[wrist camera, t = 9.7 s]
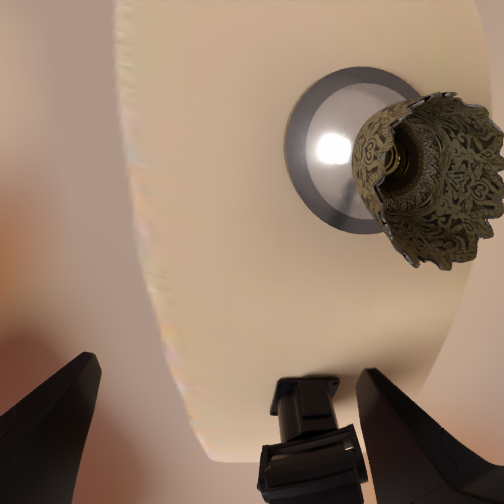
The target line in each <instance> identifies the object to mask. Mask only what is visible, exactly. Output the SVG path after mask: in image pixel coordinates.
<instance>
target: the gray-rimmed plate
mask: <svg viewBox="0 0 504 504" xmlns="http://www.w3.org/2000/svg"><path fill="white" fill-rule="evenodd" d="M417 97H421V96H420V95H419V94H418V93H417V92H416V91H415V90H414V89H413V88H412V87H411V86H410V85H409V84H408V83H406V82H405V81H404V80H402V79H401V78H399V77H397V76H395V75H394V74H391V73H389V72H386V71H384V70H380V69H376V68H371V67H350V68H346V69H341V70H338V71H336V72H333V73H331V74H329V75H326V76H325V77H323V78H321V79H319V80H318V81H316V82H315V83H314V84H312V85H311V86H310V87H309V88H307V90H306V91H305V92H304V93H303V94H302V95H301V96H300V98H299V99H298V101H297V102H296V104H295V105H294V107H293V109H292V111H291V113H290V115H289V119H288V122H287V125H286V130H285V136H284V156H285V163H286V167H287V171H288V174H289V177H290V179H291V182H292V184H293V186H294V188H295V190H296V191H297V193H298V194H299V196H300V197H301V198H302V200H303V201H304V203H305V204H306V205H307V207H308V208H309V209H310V210H311V211H312V212H313V213H314V214H315V215H316V216H317V217H319V218H320V219H321V220H322V221H324V222H326V223H327V224H329V225H330V226H332V227H335V228H337V229H339V230H342V231H345V232H348V233H354V234H375V233H380V232H384V231H383V230H382V228H381V227H380V226H379V224H378V223H377V222H376V220H375V219H374V218H373V216H372V215H371V214H370V212H369V211H368V209H367V208H366V206H365V205H364V203H363V201H362V200H361V198H360V196H359V194H358V192H357V189H356V186H355V183H354V180H353V176H352V169H351V156H352V149H353V145H354V142H355V139H356V137H357V134H358V133H359V131H360V129H361V127H362V126H363V125H364V123H365V122H366V121H367V120H368V119H369V118H370V117H371V116H372V115H374V114H375V113H376V112H378V111H379V110H381V109H383V108H385V107H387V106H389V105H392V104H395V103H398V102H401V101H405V100H409V99H413V98H417ZM389 160H390V150H389V151H387V153H386V156H385V163H384V166H386V165H387V164H388V162H389Z"/></svg>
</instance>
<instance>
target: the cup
mask: <svg viewBox="0 0 504 504" xmlns="http://www.w3.org/2000/svg"><path fill="white" fill-rule="evenodd" d="M455 95H457V93H455V92H445V93H440V92H438V93H433V94H431V95H427V96H422V97H417V98H413V99H409V100H405V101H401V102H398V103H395V104H392V105H389V106H387V107H385V108H383V109H381V110H379V111H378V112H376V113H375V114H374V115H372V116H371V117H370V118H369V119H368V120H367V121H366V122H365V123H364V125H363V126H362V127H361V129H360V131H359V133H358V134H357V137H356V139H355V142H354V145H353V149H352V156H351V169H352V176H353V180H354V183H355V186H356V189H357V192H358V194H359V196H360V198H361V200H362V201H363V203H364V205H365V206H366V208H367V209H368V211H369V212H370V214H371V215H372V216H373V218H374V219H375V220H376V222H377V223H378V224H379V226H380V227H381V228H382V230H383V231H384V233H385V234H386V235H387V237H388V238H389V239H390V241H391V243H392V245H393V246H394V248H395V249H396V250H397V251H398V252H399V253H401V254H402V255H403V256H404V258H405V259H406V260H407V261H408V262H409V263H410V264H411V265H412V266H413V267H415V268H418V267H419V265H420V262H419V260H420V261H422V262H423V263H426V262H427V261H431V262H433V263H434V264H436V265H437V266H438V268H439V269H440V270H447V271H450V270H451V268H452V262H457V263H464V262H468V261H471V260H474V259H475V258H476V255H477V247H478V246H477V243H478V240H479V238H478V237H480V238H481V237H482V238H484V239H489V238H491V237H493V235H494V233H493V229H492V227H491V225H490V224H489V222H488V221H487V220H488V219H495V218H499V217H501V216H502V215H503V213H504V204H503V202H502V200H501V199H503V198H504V183H503V179H502V177H501V176H500V175H498V173H497V172H499V171H502V170H504V158H503V157H502V156H500V150H501V148H502V146H503V138H504V133H503V131H502V130H501V129H500V128H499V127H498V126H497V125H496V124H495V123H493V122H492V120H491V119H489V112H488V110H487V109H486V108H485V107H483V106H481V105H471V104H466V103H464V102H462V100H461V99H460V98H456V97H452V96H455ZM389 150H390V160H389V162H388V164H387V165H386V166H384V163H385V156H386V153H387V151H389ZM485 218H486V221H487V222H486V221H485ZM487 223H488V224H487Z"/></svg>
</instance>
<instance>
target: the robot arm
mask: <svg viewBox="0 0 504 504" xmlns="http://www.w3.org/2000/svg"><path fill="white" fill-rule="evenodd" d="M101 373H102V372H101V367H100V365H99V362H98V360H97V357H96V355H95V354H93V353H90V352H83V353H81V354H80V355H78V356H77V357H76V358H74V359H73V360H72V361H70V362H69V363H68V364H66V365H65V366H64V367H63V368H61V369H60V370H59V371H57V372H56V373H55V374H53V375H52V376H51V377H50V378H48V379H47V380H46V381H44V382H43V383H42V384H41V385H39V386H38V387H37V388H36V389H34V390H33V391H32V392H30V393H29V394H28V395H27V396H25V397H24V398H23V399H22V400H20V401H19V402H18V403H16V405H14V406H13V407H11V408H10V409H9V410H8V411H6V412H5V413H4V414H2V415H1V416H0V504H71V503H72V498H73V493H74V488H75V483H76V478H77V474H78V470H79V465H80V461H81V457H82V453H83V449H84V446H85V442H86V438H87V434H88V431H89V427H90V424H91V421H92V417H93V413H94V409H95V404H96V399H97V394H98V388H99V384H100V379H101ZM339 384H340V380H339V378H318V379H282V380H279V381H277V384H276V388H275V392H274V396H273V400H272V404H271V408H270V415H272V416H278V418H279V427H280V437H281V443H279V444H274V445H263V446H262V452H261V457H260V467H259V477H258V483H257V489H258V490H259V491H260V492H261V493H262V496H263V499H264V500H265V502H266V503H269V504H364V499H363V494H362V490H361V485H360V484H363V483H366V482H368V476H367V471H366V466H365V462H364V458H363V455H362V451H361V448H360V445H359V441H358V438H357V435H356V432H355V429H354V425H353V424H350V425H347V426H346V427H343V428H340V429H339V426H338V422H337V418H336V415H335V411H334V407H333V403H332V398H333V396H334V394H335V392H336V390H337V388H338V386H339ZM356 394H357V402H358V409H359V418H360V425H361V430H362V434H363V438H364V442H365V447H366V451H367V456H368V460H369V465H370V469H371V474H372V479H373V484H374V489H375V494H376V500H377V504H504V466H499V465H495V464H492V463H489V462H488V461H486V460H484V459H483V458H482V457H480V456H479V455H477V454H476V453H474V452H473V451H471V450H470V449H469V448H467V447H466V446H465V445H463V444H462V443H461V442H459V441H458V440H457V439H455V438H454V437H453V436H452V435H451V434H449V433H448V432H447V431H446V430H445V429H444V428H442V427H441V426H440V425H439V424H438V423H437V422H436V421H435V420H433V418H431V417H430V416H429V415H428V414H427V413H426V412H425V411H424V410H422V409H421V408H420V407H419V406H418V405H417V404H416V403H415V402H414V401H412V400H411V399H410V398H409V397H408V396H407V395H406V394H405V393H404V392H402V391H401V390H400V389H399V388H398V387H397V386H396V385H395V384H393V383H392V382H391V381H390V380H389V379H388V378H387V377H386V376H385V375H383V374H382V373H381V372H380V371H379V370H378V369H377V368H374V367H373V368H365V369H364V370H363V371H362V373H361V375H360V377H359V379H358V381H357V383H356ZM350 447H352V449H348V450H345V449H347V448H350Z"/></svg>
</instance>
